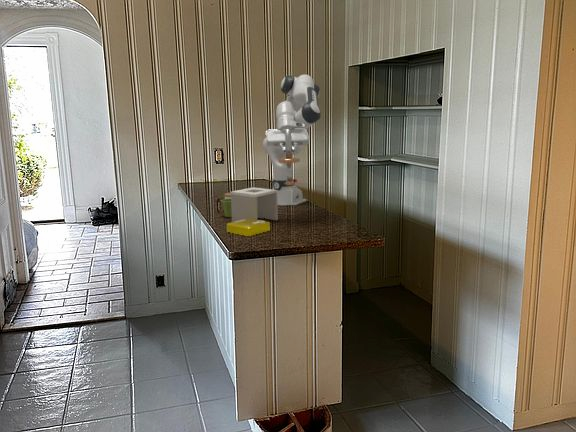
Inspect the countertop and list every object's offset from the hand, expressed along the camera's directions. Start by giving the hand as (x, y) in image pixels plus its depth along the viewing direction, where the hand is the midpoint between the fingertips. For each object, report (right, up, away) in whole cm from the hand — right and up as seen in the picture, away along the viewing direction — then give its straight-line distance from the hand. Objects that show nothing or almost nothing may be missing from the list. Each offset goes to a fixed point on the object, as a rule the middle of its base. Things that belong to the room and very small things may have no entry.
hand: (288, 151), depth 243 cm
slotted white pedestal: (-17, -33, +14) cm, 39 cm away
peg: (+1, -15, +4) cm, 16 cm away
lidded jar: (-31, -26, +50) cm, 64 cm away
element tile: (-18, -38, -7) cm, 43 cm away
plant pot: (-30, -31, +26) cm, 50 cm away
